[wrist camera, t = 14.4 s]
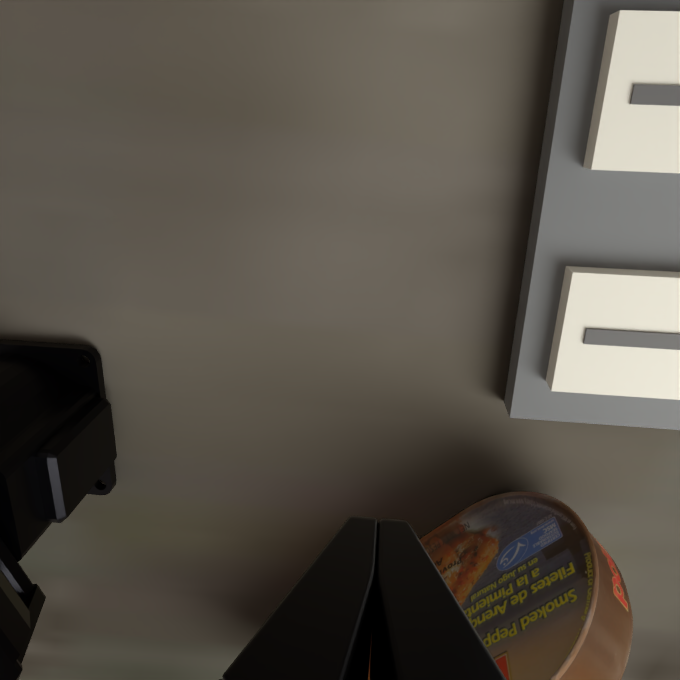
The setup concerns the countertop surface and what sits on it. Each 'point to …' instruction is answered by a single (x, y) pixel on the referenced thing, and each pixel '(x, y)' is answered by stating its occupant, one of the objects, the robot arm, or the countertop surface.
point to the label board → (605, 226)
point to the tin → (536, 588)
